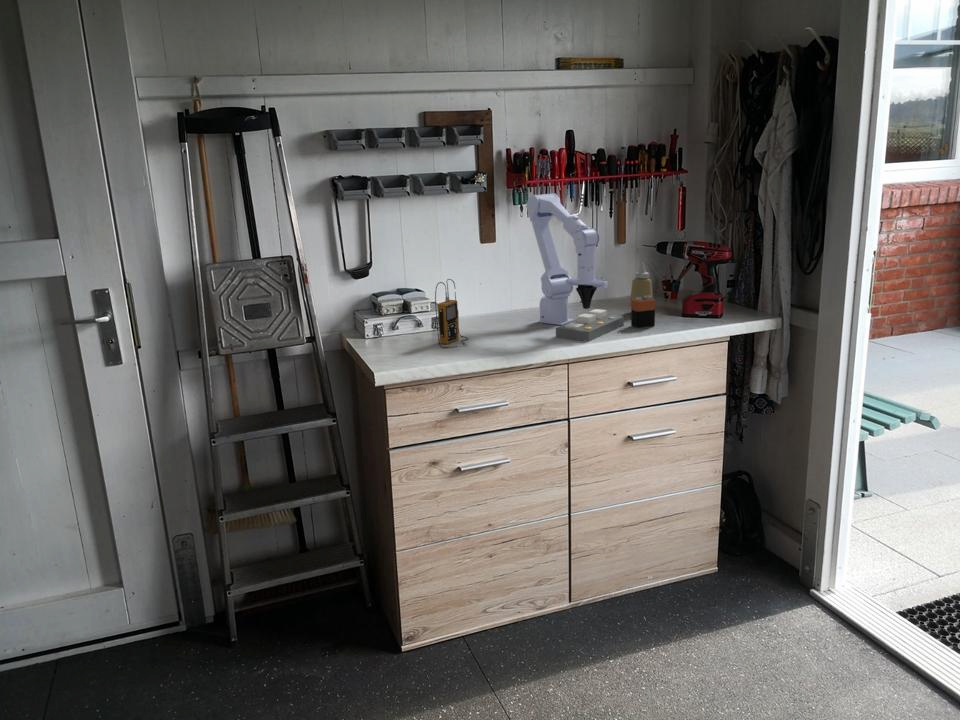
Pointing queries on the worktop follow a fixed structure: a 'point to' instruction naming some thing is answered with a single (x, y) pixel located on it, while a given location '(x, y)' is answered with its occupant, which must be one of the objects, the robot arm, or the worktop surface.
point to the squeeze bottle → (641, 284)
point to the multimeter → (448, 320)
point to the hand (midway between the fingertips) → (586, 308)
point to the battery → (643, 312)
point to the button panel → (591, 328)
